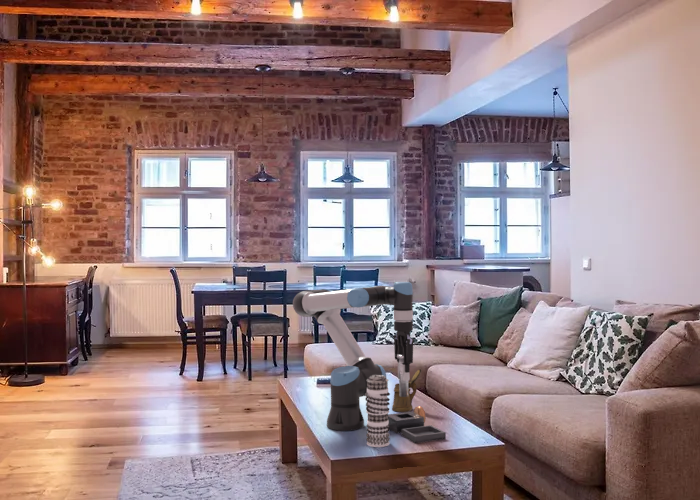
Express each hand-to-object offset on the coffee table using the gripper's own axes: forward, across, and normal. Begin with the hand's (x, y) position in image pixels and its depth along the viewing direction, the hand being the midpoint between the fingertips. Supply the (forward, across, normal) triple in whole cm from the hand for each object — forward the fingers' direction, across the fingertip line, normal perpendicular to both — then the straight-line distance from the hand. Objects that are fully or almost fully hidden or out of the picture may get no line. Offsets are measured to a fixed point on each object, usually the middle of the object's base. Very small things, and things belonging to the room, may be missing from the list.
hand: (403, 379), depth 260 cm
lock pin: (+7, 0, 0) cm, 7 cm away
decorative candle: (+20, -14, +18) cm, 30 cm away
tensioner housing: (+20, 0, -1) cm, 20 cm away
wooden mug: (+20, +26, -15) cm, 36 cm away
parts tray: (+20, -14, -1) cm, 24 cm away
